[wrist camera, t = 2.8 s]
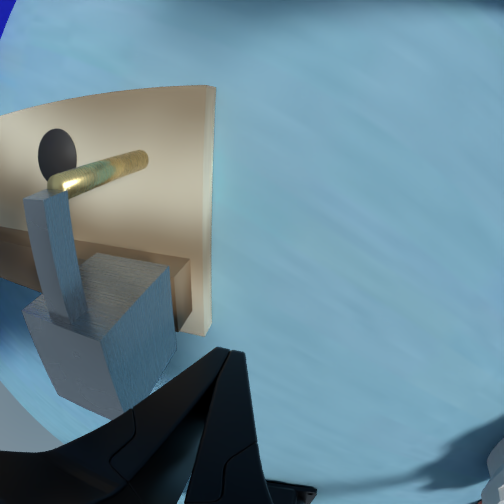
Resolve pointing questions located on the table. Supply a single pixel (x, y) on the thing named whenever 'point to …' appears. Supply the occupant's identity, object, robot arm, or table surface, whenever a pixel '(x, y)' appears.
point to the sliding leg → (96, 301)
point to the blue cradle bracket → (5, 13)
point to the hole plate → (120, 185)
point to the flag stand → (495, 476)
